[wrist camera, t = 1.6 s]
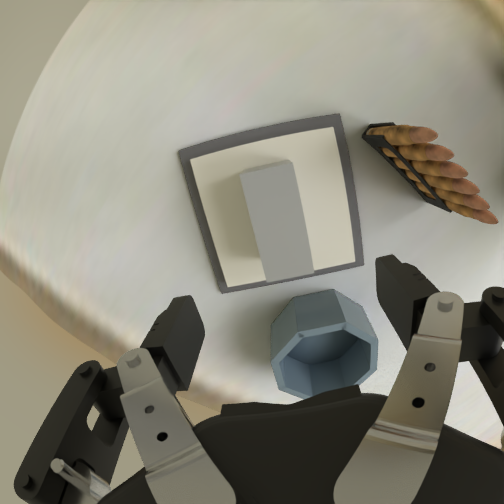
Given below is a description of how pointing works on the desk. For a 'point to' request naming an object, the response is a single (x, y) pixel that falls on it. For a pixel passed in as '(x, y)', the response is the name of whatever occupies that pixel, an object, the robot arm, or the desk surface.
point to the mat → (260, 135)
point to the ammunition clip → (428, 168)
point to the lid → (276, 207)
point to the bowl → (322, 344)
